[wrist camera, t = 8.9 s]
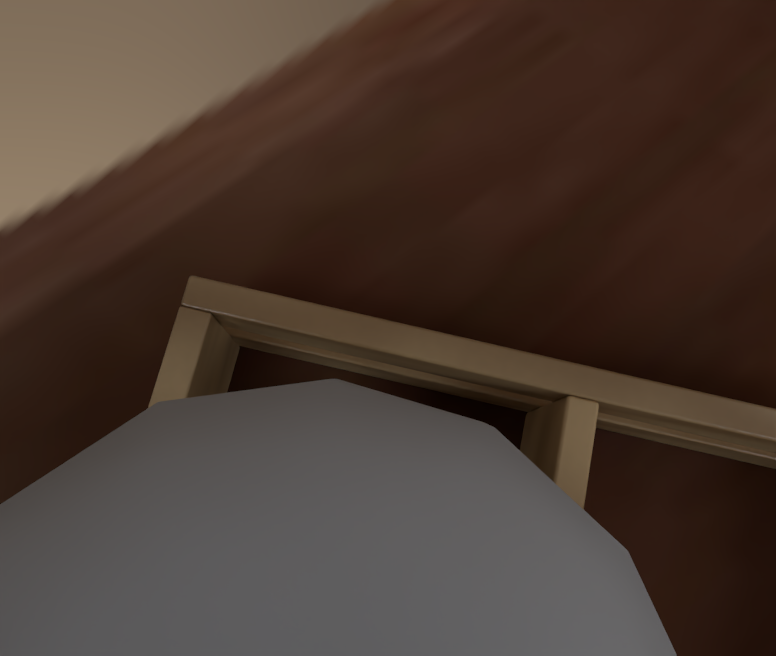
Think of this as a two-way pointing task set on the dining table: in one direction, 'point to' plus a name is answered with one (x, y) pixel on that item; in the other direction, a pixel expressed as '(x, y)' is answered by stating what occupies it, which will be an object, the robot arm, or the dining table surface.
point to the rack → (458, 378)
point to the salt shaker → (312, 539)
